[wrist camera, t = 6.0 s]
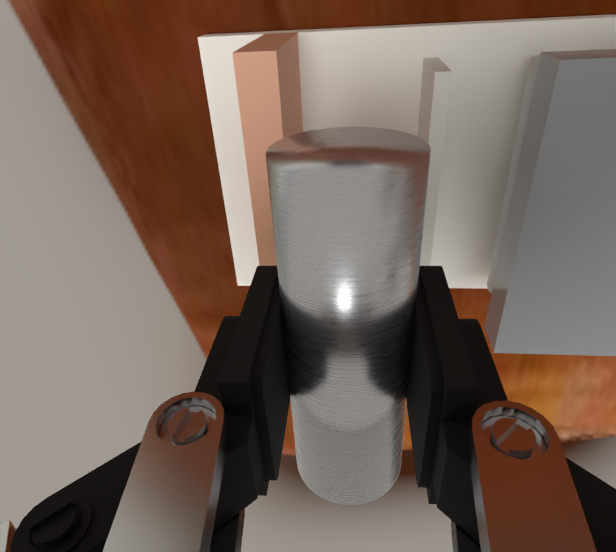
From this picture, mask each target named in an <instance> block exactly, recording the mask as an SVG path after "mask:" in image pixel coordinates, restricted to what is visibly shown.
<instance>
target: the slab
mask: <svg viewBox="0 0 616 552" xmlns="http://www.w3.org/2000/svg"><path fill="white" fill-rule="evenodd" d="M485 330H486V333H487V336H488V339H489V341H490V344H491V347H492V350H493V353H518V354H556V355H594V356H616V49H601V50H577V51H553V52H541V53H540V57H539V62H538V67H537V72H536V77H535V82H534V87H533V92H532V97H531V102H530V107H529V111H528V116H527V121H526V126H525V131H524V136H523V141H522V146H521V151H520V156H519V160H518V165H517V170H516V175H515V180H514V185H513V190H512V195H511V200H510V205H509V210H508V214H507V219H506V224H505V229H504V234H503V239H502V244H501V249H500V254H499V259H498V263H497V268H496V273H495V278H494V283H493V288H492V293H491V298H490V303H489V308H488V313H487V317H486V322H485Z"/></svg>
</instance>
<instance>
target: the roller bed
mask: <svg viewBox="0 0 616 552" xmlns="http://www.w3.org/2000/svg"><path fill="white" fill-rule="evenodd" d="M198 43H199V49H200V55H201V61H202V67H203V74H204V80H205V86H206V92H207V98H208V105H209V111H210V117H211V123H212V129H213V135H214V142H215V148H216V154H217V160H218V166H219V173H220V179H221V185H222V191H223V197H224V203H225V210H226V216H227V222H228V228H229V234H230V241H231V247H232V253H233V259H234V265H235V271H236V278H237V284H238V286H250V285H251V282H252V279H253V277H254V274H255V271H256V268H257V266H277V262H276V252H275V242H274V232H273V222H272V213H271V203H270V193H269V183H268V173H267V163H266V151H267V149H268V148H269V147H270V146H271V145H272V144H273V143H275V142H277V141H279V140H280V139H283V138H285V137H288V136H291V135H294V134H298V133H302V132H306V131H311V130H317V129H325V128H335V127H375V128H385V129H392V130H398V131H402V132H406V133H409V134H412V135H415V136H418V137H419V138H421V139H423V140H424V141H426V142H427V143H428V144H429V146H430V148H431V152H430V163H429V173H428V184H427V194H426V205H425V215H424V226H423V236H422V247H421V257H420V266H442V268H443V270H444V274H445V277H446V280H447V283H448V287H449V288H488V290H489V292H490V293H492V288H493V283H494V278H495V273H496V268H497V263H498V259H499V254H500V249H501V244H502V239H503V234H504V229H505V224H506V219H507V214H508V210H509V205H510V200H511V195H512V190H513V185H514V180H515V175H516V170H517V165H518V160H519V156H520V151H521V146H522V141H523V136H524V131H525V126H526V121H527V116H528V111H529V107H530V102H531V97H532V92H533V87H534V82H535V77H536V72H537V67H538V62H539V57H540V53H541V52H553V51H577V50H601V49H616V14H612V15H591V16H571V17H551V18H530V19H510V20H489V21H469V22H449V23H428V24H408V25H388V26H367V27H347V28H327V29H306V30H286V31H266V32H245V33H225V34H205V35H202V36H200V37H198Z"/></svg>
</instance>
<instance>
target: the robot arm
mask: <svg viewBox="0 0 616 552" xmlns="http://www.w3.org/2000/svg"><path fill="white" fill-rule="evenodd" d="M290 395H291V393H290V383H289V373H288V363H287V353H286V343H285V333H284V323H283V313H282V303H281V296H280V291H279V281H278V272H277V266H257V268H256V271H255V274H254V277H253V279H252V282H251V285H250V288H249V291H248V294H247V297H246V300H245V303H244V306H243V309H242V312H241V315H240V316H226V317H224V318H223V320H222V322H221V325H220V327H219V330H218V333H217V335H216V338H215V340H214V343H213V345H212V348H211V351H210V353H209V356H208V358H207V361H206V363H205V366H204V369H203V371H202V374H201V376H200V379H199V381H198V384H197V387H196V389H195V392H189V393H183V394H180V395H177V396H175V397H172V398H170V399H169V400H167V401H166V402H164V403H163V404H161V405H160V406H159V407H158V409H156V411H155V412H154V413H153V415H152V417H151V419H150V420H149V422H148V425H147V428H146V431H145V434H144V436H143V439H142V442H140V443H138V444H137V445H135V446H133V447H132V448H130V449H128V450H126V451H125V452H123V453H121V454H120V455H118V456H117V457H115V458H113V459H111V460H110V461H108V462H106V463H105V464H103V465H102V466H100V467H98V468H96V469H95V470H93V471H91V472H90V473H88V474H87V475H85V476H83V477H81V478H80V479H78V480H76V481H75V482H73V483H71V484H69V485H68V486H66V487H65V488H63V489H61V490H59V491H58V492H56V493H54V494H53V495H51V496H49V497H48V498H46V499H45V500H43V501H42V502H41V503H39V504H38V505H37V506H35V507H34V508H33V509H32V510H31V511H30V512H29V513H28V514H27V516H25V517H24V518H23V520H22V521H21V523H18V524H15V525H13V524H12V523H11V521H10V520H9V521H6V522H3V523H0V552H241V545H242V536H243V527H244V517H245V507H247V506H248V505H249V504H251V503H252V502H253V501H254V500H256V499H257V497H258V495H265V496H266V495H267V489H268V484H269V480H277V478H278V474H279V467H280V460H281V454H282V448H283V441H284V435H285V428H286V422H287V415H288V408H289V402H290ZM406 400H407V408H408V416H409V424H410V432H411V440H412V448H413V456H414V464H415V472H416V480H417V485H418V487H426V488H427V494H428V501H429V504H437V508H439V509H440V510H441V511H442V512H443V513H444V514H445V515H447V516H448V517H449V518H450V519H451V533H452V544H453V552H616V489H615V488H613V487H611V486H610V485H608V484H607V483H605V482H603V481H602V480H600V479H599V478H597V477H596V476H594V475H593V474H591V473H589V472H588V471H586V470H585V469H583V468H582V467H580V466H578V465H577V464H575V463H574V462H572V461H570V460H569V459H567V458H566V457H565V455H564V452H563V449H562V447H561V443H560V440H559V437H558V435H557V433H556V431H555V429H554V427H553V426H552V425H551V423H550V422H549V421H548V420H547V419H546V418H545V417H544V416H543V415H541V414H540V413H538V412H537V411H535V410H534V409H532V408H530V407H527V406H525V405H523V404H520V403H516V402H511V401H508V400H507V397H506V394H505V391H504V389H503V386H502V383H501V381H500V378H499V375H498V372H497V370H496V367H495V364H494V361H493V359H492V356H491V353H490V351H489V348H488V345H487V342H486V340H485V337H484V334H483V332H482V329H481V326H480V324H479V322H478V320H476V319H458V316H457V312H456V309H455V306H454V303H453V299H452V296H451V293H450V290H449V287H448V283H447V280H446V277H445V274H444V270H443V268H442V266H420V268H419V278H418V289H417V295H416V299H415V309H414V320H413V331H412V341H411V352H410V363H409V373H408V384H407V395H406Z"/></svg>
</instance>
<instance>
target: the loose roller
mask: <svg viewBox="0 0 616 552" xmlns="http://www.w3.org/2000/svg"><path fill="white" fill-rule="evenodd" d="M430 152H431V148H430V146H429V144H428V143H427V142H426V141H424V140H423V139H421V138H419V137H418V136H415V135H412V134H409V133H406V132H402V131H398V130H392V129H385V128H375V127H335V128H325V129H317V130H311V131H306V132H302V133H298V134H294V135H291V136H288V137H285V138H283V139H280V140H279V141H277V142H275V143H273V144H272V145H271V146H270V147H269V148H268V149H267V151H266V163H267V173H268V183H269V193H270V203H271V213H272V222H273V232H274V242H275V252H276V262H277V272H278V281H279V291H280V296H281V303H282V313H283V323H284V333H285V343H286V353H287V363H288V373H289V383H290V393H291V395H290V399H291V409H292V419H293V429H294V439H295V449H296V458H297V466H298V470H299V473H300V475H301V477H302V479H303V481H304V482H305V484H306V485H307V486H308V487H309V489H311V491H313V492H314V493H315V494H316V495H318V496H319V497H321V498H323V499H325V500H327V501H329V502H332V503H335V504H340V505H350V506H351V505H361V504H366V503H369V502H372V501H374V500H376V499H378V498H380V497H381V496H383V495H384V494H385V493H387V492H388V491H389V490H390V488H391V487H392V486H393V485H394V483H395V482H396V480H397V478H398V475H399V472H400V467H401V457H402V446H403V436H404V425H405V415H406V404H407V400H406V395H407V384H408V373H409V363H410V352H411V341H412V331H413V320H414V309H415V299H416V295H417V289H418V278H419V268H420V257H421V247H422V236H423V226H424V215H425V205H426V194H427V184H428V173H429V163H430Z"/></svg>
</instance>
